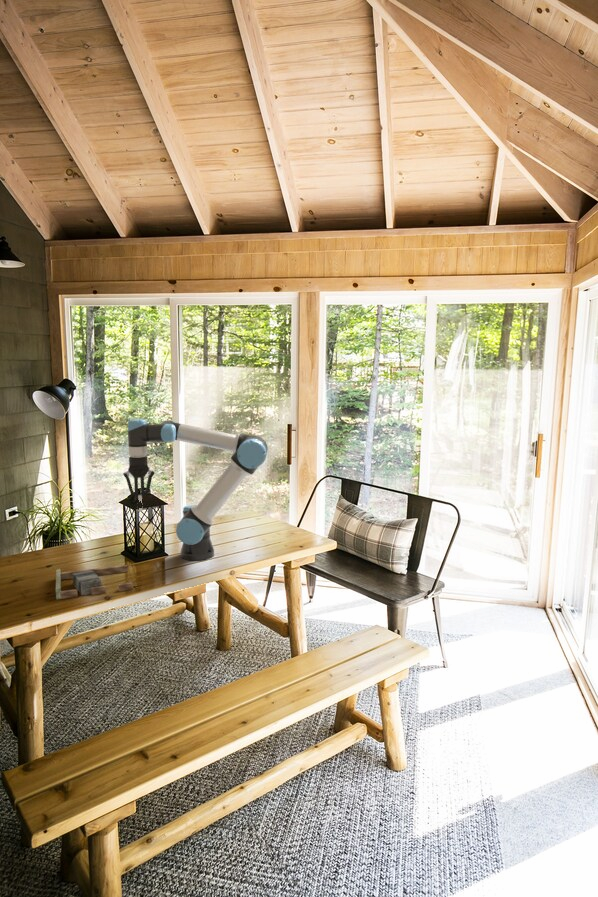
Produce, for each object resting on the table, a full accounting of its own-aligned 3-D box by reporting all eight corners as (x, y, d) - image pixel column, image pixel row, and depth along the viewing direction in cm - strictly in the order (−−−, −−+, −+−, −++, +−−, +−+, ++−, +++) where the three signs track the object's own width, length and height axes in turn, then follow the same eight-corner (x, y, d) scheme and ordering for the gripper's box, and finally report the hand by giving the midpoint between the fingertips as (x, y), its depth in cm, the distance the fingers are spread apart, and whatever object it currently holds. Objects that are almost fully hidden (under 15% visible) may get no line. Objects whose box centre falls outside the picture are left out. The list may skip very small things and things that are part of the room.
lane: (126, 570, 259) (126, 561, 258) (132, 589, 238) (132, 579, 237) (56, 579, 249) (56, 569, 249) (56, 599, 228) (55, 589, 227)
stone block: (95, 580, 248) (95, 568, 248) (105, 591, 236) (104, 578, 236) (72, 584, 244) (72, 572, 243) (81, 596, 232) (80, 583, 231)
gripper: (152, 453, 264) (154, 507, 268) (121, 455, 260) (123, 509, 263) (155, 456, 257) (157, 511, 261) (122, 458, 253) (125, 513, 256)
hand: (140, 510), depth 262 cm, fingers closed
